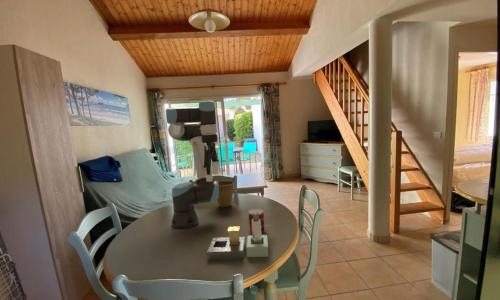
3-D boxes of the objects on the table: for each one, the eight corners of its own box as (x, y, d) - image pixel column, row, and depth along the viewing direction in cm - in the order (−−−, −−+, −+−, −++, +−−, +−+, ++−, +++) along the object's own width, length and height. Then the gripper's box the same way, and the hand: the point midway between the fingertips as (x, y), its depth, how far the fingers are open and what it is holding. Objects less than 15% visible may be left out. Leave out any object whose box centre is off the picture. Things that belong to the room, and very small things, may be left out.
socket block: (213, 244, 111) (213, 237, 111) (245, 243, 111) (244, 236, 110) (207, 259, 99) (207, 251, 99) (243, 258, 99) (242, 250, 98)
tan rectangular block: (230, 248, 107) (228, 226, 106) (241, 247, 107) (239, 226, 105) (229, 253, 103) (227, 230, 102) (240, 252, 103) (239, 230, 101)
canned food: (252, 236, 117) (250, 215, 116) (248, 229, 125) (246, 209, 124) (266, 233, 119) (265, 212, 118) (261, 227, 127) (260, 207, 126)
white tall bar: (253, 248, 106) (251, 212, 104) (262, 247, 106) (260, 211, 104) (253, 253, 102) (250, 215, 100) (262, 252, 102) (260, 215, 100)
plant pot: (239, 203, 165) (238, 181, 163) (226, 211, 153) (224, 187, 151) (223, 200, 173) (221, 179, 171) (209, 207, 161) (207, 184, 159)
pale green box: (248, 244, 110) (247, 235, 109) (267, 244, 109) (267, 234, 109) (247, 257, 100) (246, 247, 99) (268, 256, 99) (267, 246, 99)
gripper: (207, 133, 124) (210, 172, 127) (194, 136, 100) (198, 185, 102) (221, 132, 124) (224, 171, 127) (211, 135, 99) (215, 184, 102)
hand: (212, 177), depth 115 cm, fingers open, 13 cm apart
